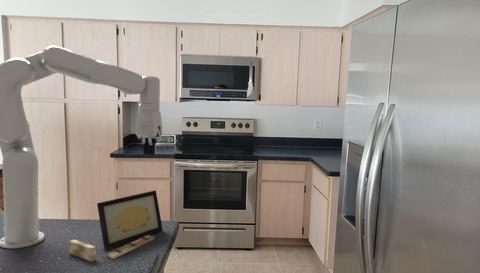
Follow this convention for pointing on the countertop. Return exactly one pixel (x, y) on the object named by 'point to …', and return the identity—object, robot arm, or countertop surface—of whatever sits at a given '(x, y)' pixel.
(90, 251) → the block
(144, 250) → the countertop surface
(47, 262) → the countertop surface
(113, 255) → the strip
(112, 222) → the picture frame
